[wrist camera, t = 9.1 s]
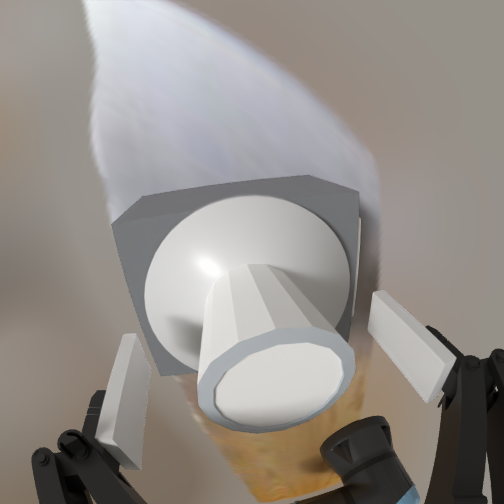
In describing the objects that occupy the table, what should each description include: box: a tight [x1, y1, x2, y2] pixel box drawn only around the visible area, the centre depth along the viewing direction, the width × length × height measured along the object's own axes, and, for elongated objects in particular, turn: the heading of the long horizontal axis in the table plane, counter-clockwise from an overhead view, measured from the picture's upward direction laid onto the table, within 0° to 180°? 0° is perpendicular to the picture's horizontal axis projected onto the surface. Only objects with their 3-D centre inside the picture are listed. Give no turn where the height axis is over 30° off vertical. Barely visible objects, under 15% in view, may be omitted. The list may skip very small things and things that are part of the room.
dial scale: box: [111, 175, 361, 376], centre depth 21 cm, size 13×16×10 cm
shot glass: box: [197, 264, 355, 433], centre depth 14 cm, size 7×7×7 cm
